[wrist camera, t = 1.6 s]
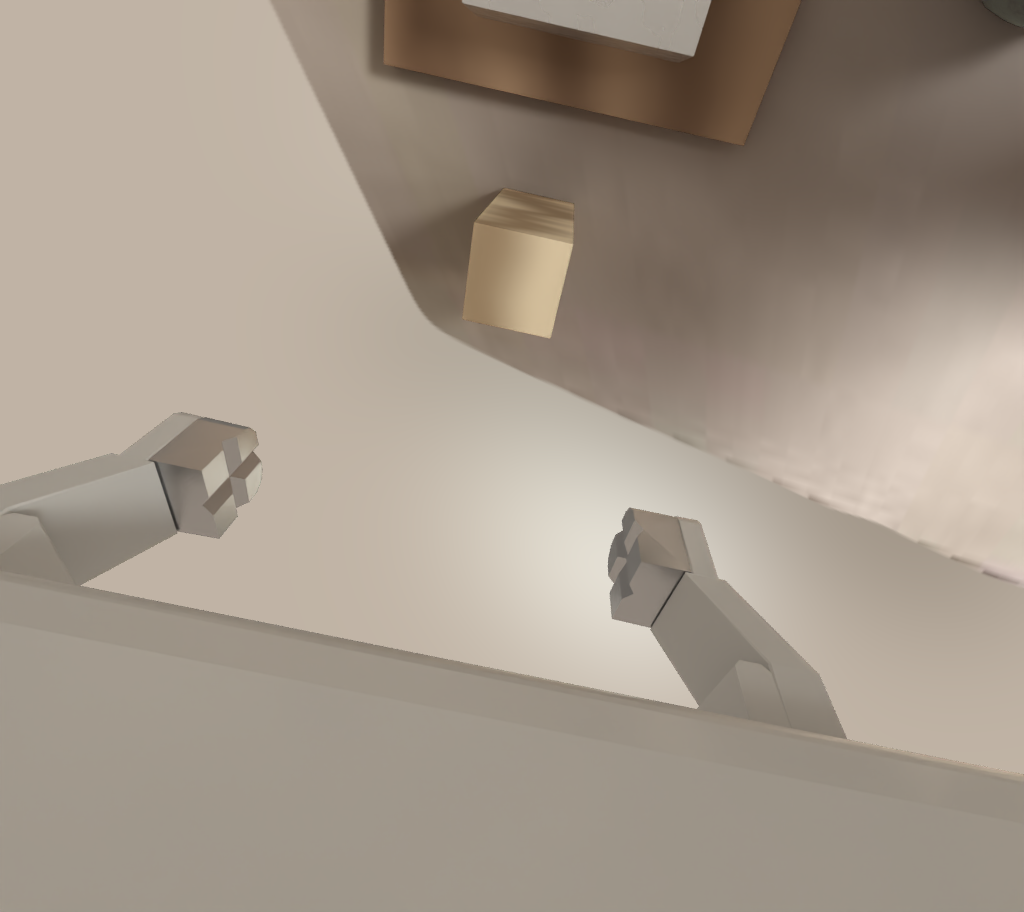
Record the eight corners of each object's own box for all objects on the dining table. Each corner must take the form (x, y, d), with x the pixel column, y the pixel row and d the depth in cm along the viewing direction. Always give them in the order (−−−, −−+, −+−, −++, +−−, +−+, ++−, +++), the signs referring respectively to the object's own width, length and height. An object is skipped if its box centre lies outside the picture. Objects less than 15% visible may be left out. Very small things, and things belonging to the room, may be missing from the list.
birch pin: (574, 203, 30) (573, 244, 21) (557, 275, 33) (550, 338, 24) (503, 187, 30) (473, 222, 21) (492, 261, 33) (461, 319, 24)
